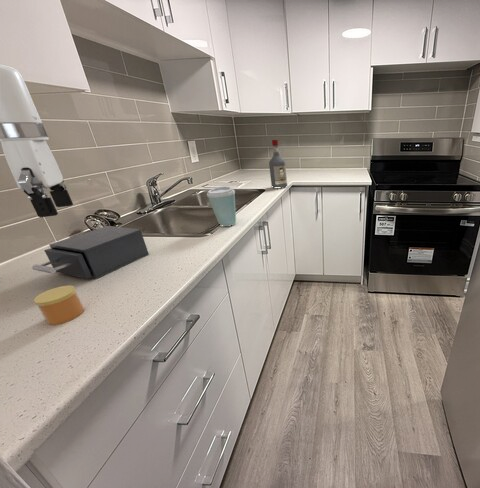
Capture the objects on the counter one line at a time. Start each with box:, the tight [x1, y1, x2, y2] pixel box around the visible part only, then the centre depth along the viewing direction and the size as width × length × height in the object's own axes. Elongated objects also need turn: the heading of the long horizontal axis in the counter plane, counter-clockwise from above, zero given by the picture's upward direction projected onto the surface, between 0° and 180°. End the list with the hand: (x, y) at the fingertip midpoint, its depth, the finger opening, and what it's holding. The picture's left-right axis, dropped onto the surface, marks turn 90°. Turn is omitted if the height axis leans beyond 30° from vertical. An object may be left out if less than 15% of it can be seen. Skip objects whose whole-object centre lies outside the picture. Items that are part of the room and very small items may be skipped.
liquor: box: [268, 139, 288, 188], centre depth 172 cm, size 9×9×30 cm
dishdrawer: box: [48, 225, 150, 280], centre depth 78 cm, size 16×15×9 cm
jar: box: [33, 285, 85, 326], centre depth 55 cm, size 6×6×6 cm
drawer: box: [31, 247, 92, 280], centre depth 74 cm, size 19×13×7 cm
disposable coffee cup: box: [206, 185, 237, 227], centre depth 106 cm, size 11×11×15 cm
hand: (57, 210), depth 63 cm, fingers open, 9 cm apart
